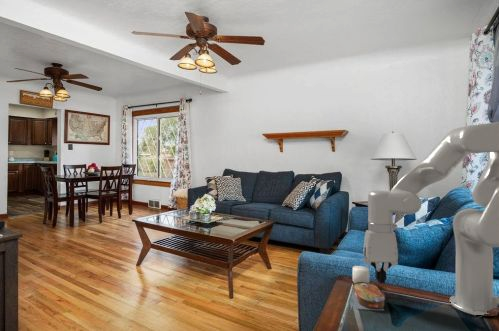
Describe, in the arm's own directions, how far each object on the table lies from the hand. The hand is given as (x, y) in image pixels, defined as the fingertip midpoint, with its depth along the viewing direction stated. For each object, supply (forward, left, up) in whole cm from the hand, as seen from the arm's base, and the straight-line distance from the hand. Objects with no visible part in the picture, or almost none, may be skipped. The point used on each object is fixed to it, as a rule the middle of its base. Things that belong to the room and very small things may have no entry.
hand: (380, 281), depth 98 cm
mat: (+5, 0, -6) cm, 8 cm away
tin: (0, 0, -5) cm, 5 cm away
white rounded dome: (+3, -13, -6) cm, 15 cm away
